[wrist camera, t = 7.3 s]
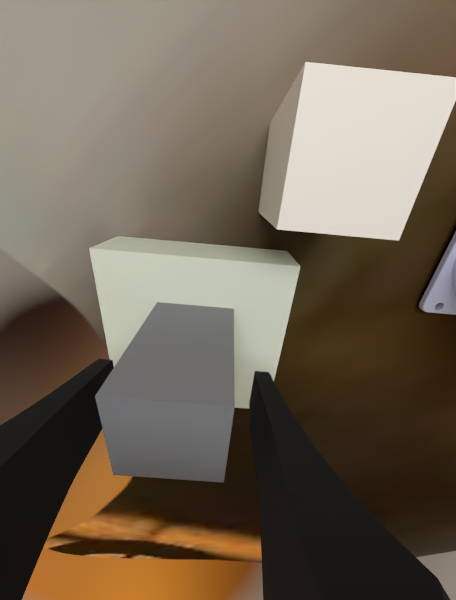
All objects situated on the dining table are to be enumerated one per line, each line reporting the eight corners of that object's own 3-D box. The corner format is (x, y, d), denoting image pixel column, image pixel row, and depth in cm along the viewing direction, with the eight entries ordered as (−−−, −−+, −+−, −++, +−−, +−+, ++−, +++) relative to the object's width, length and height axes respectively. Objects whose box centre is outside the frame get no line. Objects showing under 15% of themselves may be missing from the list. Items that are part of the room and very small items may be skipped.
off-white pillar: (351, 131, 11) (464, 78, 6) (329, 218, 13) (398, 240, 7) (270, 123, 11) (305, 62, 6) (258, 212, 13) (277, 229, 7)
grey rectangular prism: (233, 308, 12) (234, 406, 7) (227, 367, 14) (223, 482, 8) (157, 302, 12) (95, 396, 7) (160, 361, 14) (113, 474, 8)
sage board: (287, 250, 14) (300, 266, 11) (262, 376, 18) (267, 409, 15) (117, 236, 13) (89, 248, 11) (134, 366, 18) (116, 398, 15)
